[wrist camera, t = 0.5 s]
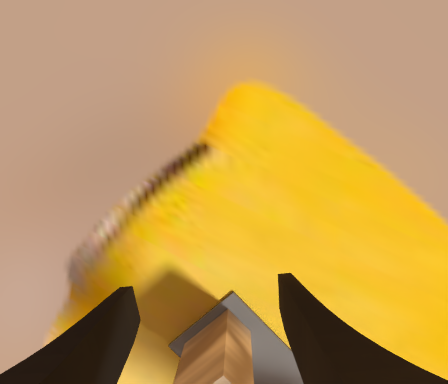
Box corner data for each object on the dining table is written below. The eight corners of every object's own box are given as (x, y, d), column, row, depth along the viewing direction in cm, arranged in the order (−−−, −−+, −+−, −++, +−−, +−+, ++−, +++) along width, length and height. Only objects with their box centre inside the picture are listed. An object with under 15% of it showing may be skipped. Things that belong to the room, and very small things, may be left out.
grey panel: (321, 381, 24) (322, 383, 24) (254, 427, 25) (254, 429, 25) (233, 291, 23) (233, 292, 23) (168, 344, 24) (168, 346, 24)
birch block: (184, 343, 24) (162, 421, 17) (228, 308, 23) (223, 375, 16) (206, 364, 24) (193, 449, 17) (250, 330, 23) (255, 406, 16)
